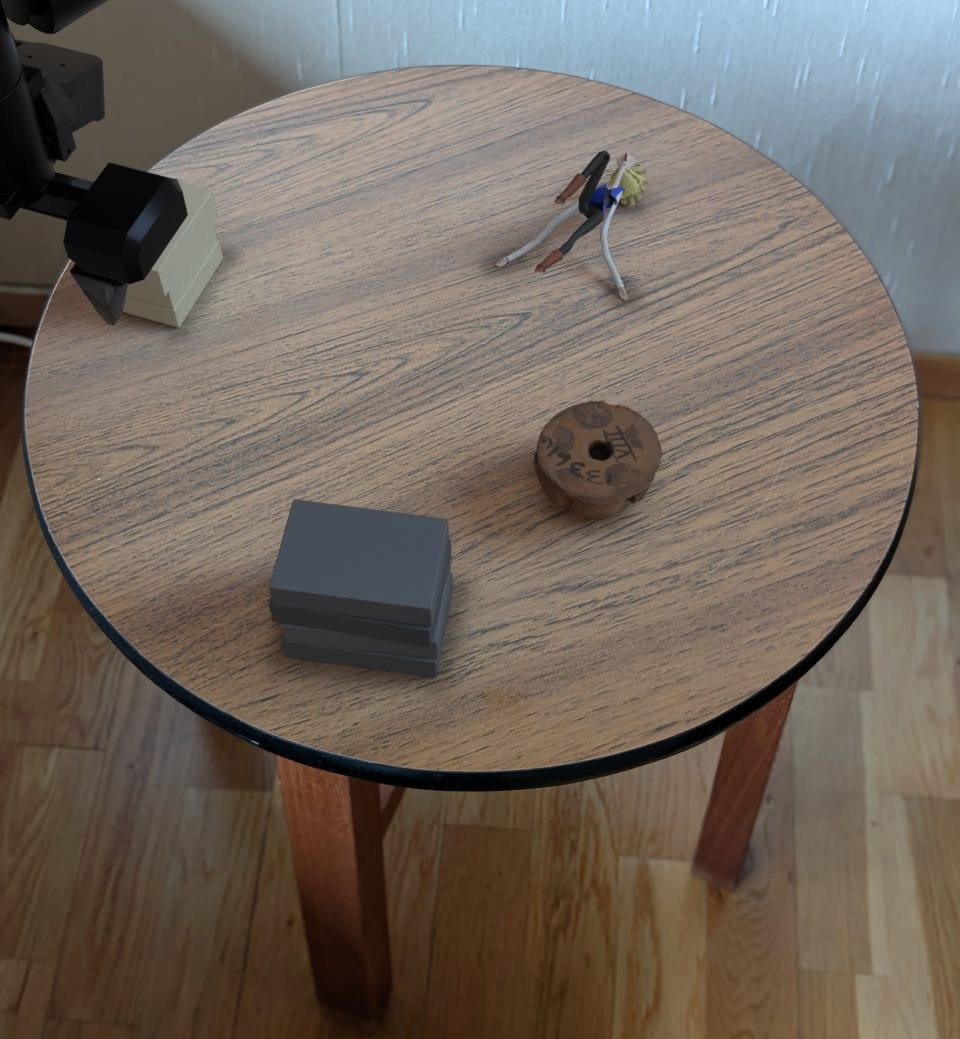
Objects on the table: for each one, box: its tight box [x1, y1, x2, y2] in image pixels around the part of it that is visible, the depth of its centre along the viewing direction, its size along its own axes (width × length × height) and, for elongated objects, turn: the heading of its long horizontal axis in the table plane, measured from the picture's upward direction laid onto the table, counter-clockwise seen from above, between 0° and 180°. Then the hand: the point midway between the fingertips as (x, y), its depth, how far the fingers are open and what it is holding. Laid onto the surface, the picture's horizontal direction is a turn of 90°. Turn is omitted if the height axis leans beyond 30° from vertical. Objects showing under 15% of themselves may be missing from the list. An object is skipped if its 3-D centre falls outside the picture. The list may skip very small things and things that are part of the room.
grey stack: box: [268, 498, 454, 679], centre depth 76 cm, size 9×6×8 cm
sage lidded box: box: [122, 223, 224, 329], centre depth 92 cm, size 7×5×4 cm
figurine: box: [495, 150, 673, 301], centre depth 93 cm, size 10×9×20 cm
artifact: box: [533, 400, 663, 521], centre depth 82 cm, size 8×8×5 cm
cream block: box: [128, 181, 219, 296], centre depth 90 cm, size 8×5×2 cm, turn 160°
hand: (44, 299), depth 78 cm, fingers open, 9 cm apart
